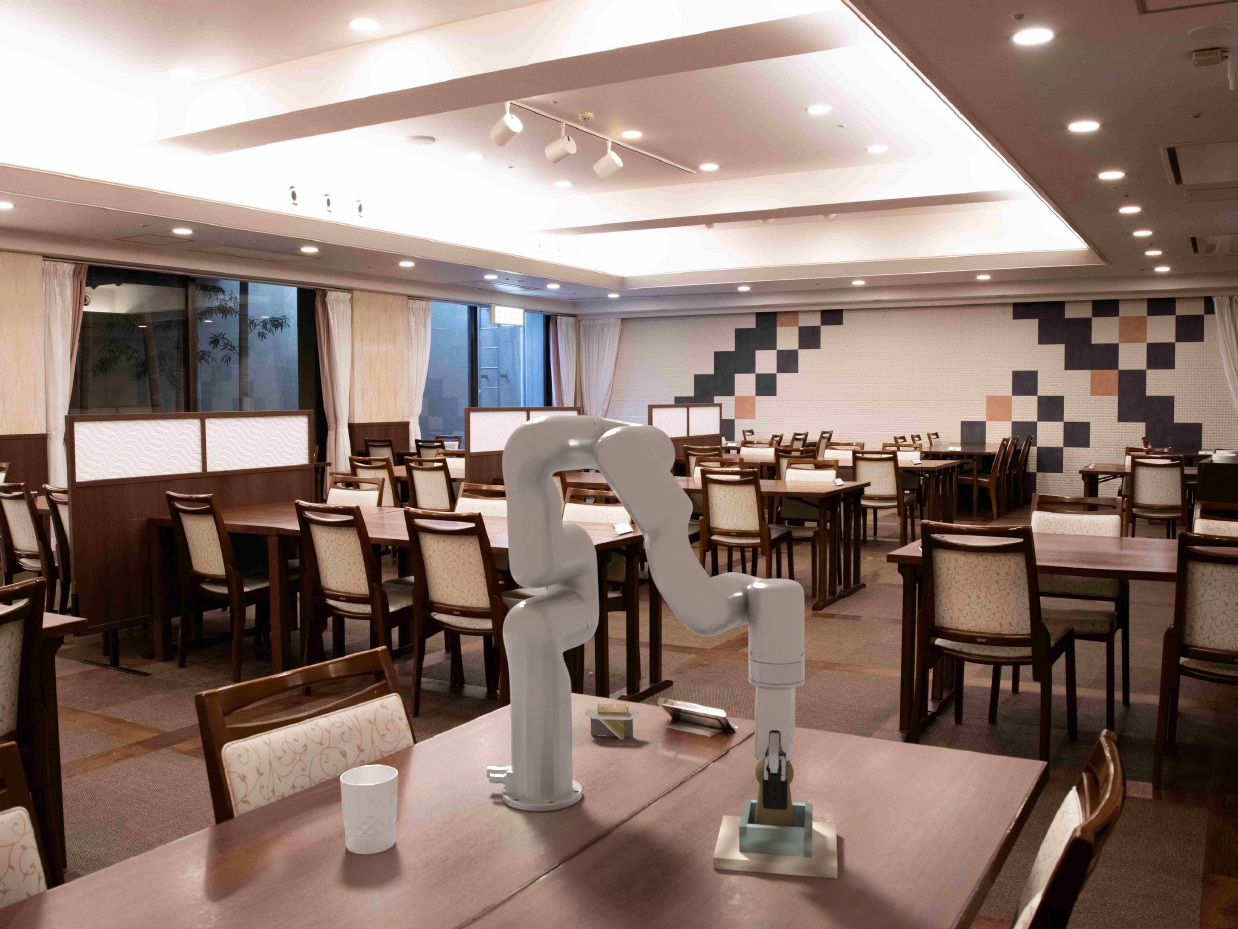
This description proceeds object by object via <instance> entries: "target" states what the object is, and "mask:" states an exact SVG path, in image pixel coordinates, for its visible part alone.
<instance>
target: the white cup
mask: <svg viewBox="0 0 1238 929" xmlns="http://www.w3.org/2000/svg"><path fill="white" fill-rule="evenodd" d="M339 781H340V782H339V783H340V795H341V810H342V818H343V821H342V822H343V827H344V828H343V829H344V836H345V840H344V841H345V847H346V849H347V850H348V852H351V853H353V854H355V855H373V854H379V853H383V852H385V851H387V850H389V849H391V848H392V847H394V845H395V842H396V840H397V839H396V838H397V837H396V836H397V835H396V834H397V821H398V820H397V819H398V794H399V792H398V789H399V788H398V787H399V786H398V785H399V770H398V769H396V768H395V767H393V766H390V765H384V764H371V765H370V764H369V765H363V766H356V767H354V768H350V769H349V770H346V771H344V772H343V773H342V774H341V775H340V777H339Z"/></svg>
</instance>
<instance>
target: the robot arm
mask: <svg viewBox="0 0 1238 929" xmlns="http://www.w3.org/2000/svg"><path fill="white" fill-rule="evenodd" d="M501 459H502V460H501V461H502V462H501V464H502V465H501V466H502V467H501V468H502V477H503V483H504V490H505V497H506V524H507V525H506V526H507V527H506V528H507V543H508V544H507V545H508V562H509V570H510V574H511V577H512V578H513V580H514V582H515V583H517V584H518V585H519V586H521V587H523V588H526V589H540V588H541V589H542V588H546V587H547V593H543V594H540V595H539V594H538V595H535V596H532V597H529V598H526V599H523V600H521V601H520V602H518V603H516V604H515V605H513V607H512V608H511V609H510V610H509V611H508V612H507V614H506V616H505V618H504V621H503V626H502V638H503V643H504V644H503V645H504V649H505V654H506V657H507V658H506V659H507V663H508V666H507V667H508V672H509V673H508V675H509V693H510V694H509V700H510V738H511V739H510V742H511V743H510V744H511V745H510V746H511V750H510V751H511V752H510V754H511V765H507V766H506V767H500V766H498V765H497V766H494V765H489V766H488V767H487V770H486V778H487V779H489V780H488V781H489V783H490V784H503V785H504V787H503V788H502V790H501V799H502V801H503V802H504V803H505V804H506V805H508V806H509V807H511V808H514V809H517V810H522V811H527V812H528V811H529V812H549V811H556V810H560V809H561V810H562V809H566V808H568V807H570V806H573V805H575V804H576V803H578V802H579V801H580V800H581V799H582V797H583V794H584V793H583V786H582V784H580V783H579V782H578V781H577V780H575V779H573V727H572V726H573V721H572V720H573V717H572V715H573V714H572V713H573V712H572V704H573V703H572V682H571V677H570V673H569V670H568V667H567V665H566V662H565V660H564V655H563V653H564V652H567V651H569V650H571V649H574V648H576V647H579V646H581V645H583V644H585V643H586V642H588V641H589V640H590V639H591V638H592V637H593V636H594V635H595V633H596V630H597V629H598V628H597V627H598V625H599V620H600V619H599V617H600V603H599V602H600V600H599V599H600V598H599V581H598V580H599V578H598V575H599V574H598V559H597V551H596V547H595V544H594V541H593V540H592V538H591V536H590V534H589V533H588V531H587V530H585V528H583V526H581V525H579V524H577V523H575V522H569V521H563V516H562V514H563V513H562V512H563V511H562V497H561V493H560V491H559V487H558V486H557V483H556V482H555V479H554V477H553V475H554V474H555V473H558V472H562V471H563V472H564V471H575V470H585V469H586V470H588V469H589V470H597V471H599V473H600V474H601V476H602V478H603V479H604V480H605V482H606V483H607V485H608V486H609V487H610V489H611V490H612V492H613V494H614V495H615V496H616V498H617V499H618V501H619V502H620V504H621V505H622V506H623V508H624V509H625V511H626V512H627V514H628V515H629V517H630V518H631V520H632V521H633V522H634V524H635V526H636V527H637V529H638V530H639V532H640V533H641V535H642V537H643V539H644V540H643V541H644V549H645V554H646V560H647V563H648V564H647V565H648V568H649V571H650V575H651V578H652V579H653V582H654V584H655V587H656V589H657V590H658V592H659V593H660V595H661V597H662V598H663V599H664V601H665V602H666V603H667V605H668V606H669V608H670V610H671V611H672V612H673V614H674V615H675V617H676V618H677V619H678V620H679V622H680V624H681V623H682V625H683V626H684V627H685V628H686V629H687V630H689V631H690V632H691V633H693V634H695V635H697V636H700V637H715V636H718V635H721V634H723V633H725V632H727V631H729V630H731V629H734V628H738V627H742V626H745V625H748V632H747V633H748V683H750V685H752V686H753V685H754V686H755V697H754V698H755V699H754V700H755V701H754V753H753V754H754V759H755V760H757V761H759V760H760V759H763V758H765V764H764V777H763V807H764V808H765V809H777V810H786V809H787V779H785V771H786V762H787V761H789V762H790V763H791V758H792V752H793V747H794V746H793V745H794V738H795V726H796V688H797V687H801V686H803V685H804V684H805V682H806V681H805V676H806V675H805V672H806V671H805V668H806V667H805V664H806V663H805V662H806V661H805V592H804V587H803V586H802V585H801V584H800V583H799V582H798V581H796V580H793V579H788V578H761V577H758V576H753V575H749V574H746V573H741V572H735V571H733V572H725V573H722V574H718V575H714V576H710V575H709V574H708V573H707V570H705V569H704V567H703V565H702V564H701V563H700V560H698V558H697V556H696V555H695V552H694V550H693V548H692V546H691V543H690V538H689V524H690V521H691V520H690V519H691V515H692V514H693V509H694V505H693V502H692V500H691V499H690V497H689V496H688V493H686V491H685V490H684V489H683V487H682V486H681V485H680V484H679V482H678V480H677V479H676V478H675V476H674V475H673V473H672V472H671V470H672V468H673V466H674V463H675V460H676V450H675V446H674V443H673V441H672V440H671V438H670V437H669V435H667V433H666V432H665V431H664V430H662V429H661V428H659V427H657V426H654V425H652V424H651V425H649V424H643V423H635V422H630V421H624V420H619V419H613V418H609V417H608V418H607V417H603V416H597V415H585V414H584V415H583V414H580V415H579V414H578V415H577V414H576V415H575V414H574V415H573V414H572V415H571V414H570V415H568V414H567V415H566V414H558V415H557V414H556V415H555V414H553V415H545V416H539V417H536V418H532V419H529V420H528V421H526V422H524V423H522V424H520V426H518V427H517V428H515V430H514V431H512V433H511V434H510V435H509V437H508V439H507V441H506V443H505V445H504V448H503V453H502V458H501ZM779 763H781V764H779Z"/></svg>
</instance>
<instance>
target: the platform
mask: <svg viewBox="0 0 1238 929" xmlns="http://www.w3.org/2000/svg"><path fill="white" fill-rule="evenodd" d="M617 706H619V707H618V709H606V708H612V705H601V703H597V705H596V708H597V709H589V708H588V709H585V711H584V716H587V717H588V718H590V736H591V735H606V736H605V737H610V736H617V738H618V739H619V740H625V738H626V737H625V736H630V737H629V738H634V719H635V718H637V717H639V711H638V710H629V704H627V703H626V704H625V703H617ZM600 708H601V709H600ZM624 737H625V738H624Z"/></svg>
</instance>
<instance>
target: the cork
mask: <svg viewBox="0 0 1238 929" xmlns="http://www.w3.org/2000/svg"><path fill="white" fill-rule="evenodd" d="M764 764H765V758H764V757H763V758H760V759H759V760H758V762H757V764H756V765H755V769H754V770H755V772H754V773H755V777H756V780H757V782H758V783H759V784H758V793H757V798H756V800H757V805H756V813H755V820H754V824H758V825H772V826H786V827H795V823H794V815H793V807H792V802H793V801H792V795H791V793H792V792H791V786H790V785H791V783H792V782H793V780H794V776H795V774H794V772H795V770H794V768H793V764H792V763H791V761H790V762H789V761H787V762H786V771H785V779H787V809H786V810H777V809H765V808H764V807H763V777H764ZM779 764H781V763H779Z"/></svg>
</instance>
